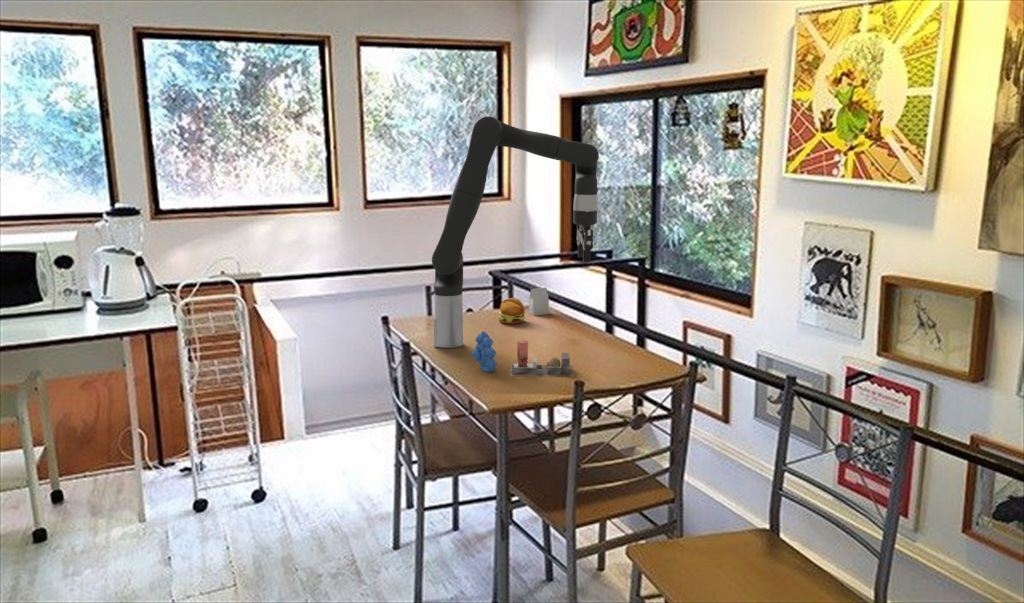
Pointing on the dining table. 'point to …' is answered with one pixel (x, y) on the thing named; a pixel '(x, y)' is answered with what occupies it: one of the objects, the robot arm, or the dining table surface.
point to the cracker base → (547, 370)
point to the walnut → (553, 362)
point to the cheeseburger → (511, 311)
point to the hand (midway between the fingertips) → (583, 259)
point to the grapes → (484, 352)
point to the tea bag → (538, 302)
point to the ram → (524, 357)
